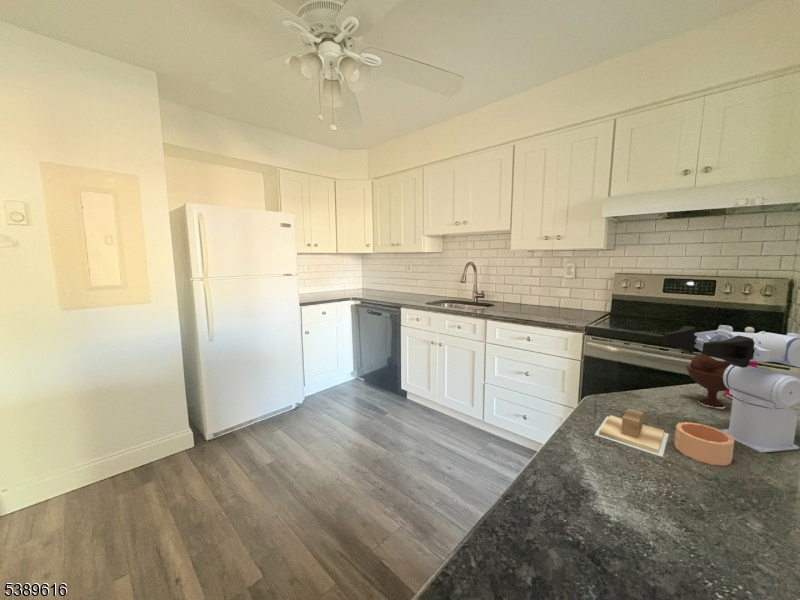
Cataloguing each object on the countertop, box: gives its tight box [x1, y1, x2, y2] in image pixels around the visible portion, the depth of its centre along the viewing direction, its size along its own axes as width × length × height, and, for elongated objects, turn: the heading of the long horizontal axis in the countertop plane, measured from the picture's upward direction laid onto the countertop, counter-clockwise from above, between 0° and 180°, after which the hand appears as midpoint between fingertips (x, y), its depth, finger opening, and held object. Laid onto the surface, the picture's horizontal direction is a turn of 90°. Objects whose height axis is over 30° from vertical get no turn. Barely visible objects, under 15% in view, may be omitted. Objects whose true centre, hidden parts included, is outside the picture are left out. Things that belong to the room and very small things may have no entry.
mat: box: [594, 416, 670, 458], centre depth 70 cm, size 12×12×1 cm
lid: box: [599, 408, 665, 453], centre depth 69 cm, size 10×10×4 cm
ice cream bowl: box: [686, 353, 731, 407], centre depth 83 cm, size 11×11×15 cm
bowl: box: [673, 421, 735, 467], centre depth 63 cm, size 8×8×4 cm
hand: (683, 343), depth 62 cm, fingers open, 7 cm apart
